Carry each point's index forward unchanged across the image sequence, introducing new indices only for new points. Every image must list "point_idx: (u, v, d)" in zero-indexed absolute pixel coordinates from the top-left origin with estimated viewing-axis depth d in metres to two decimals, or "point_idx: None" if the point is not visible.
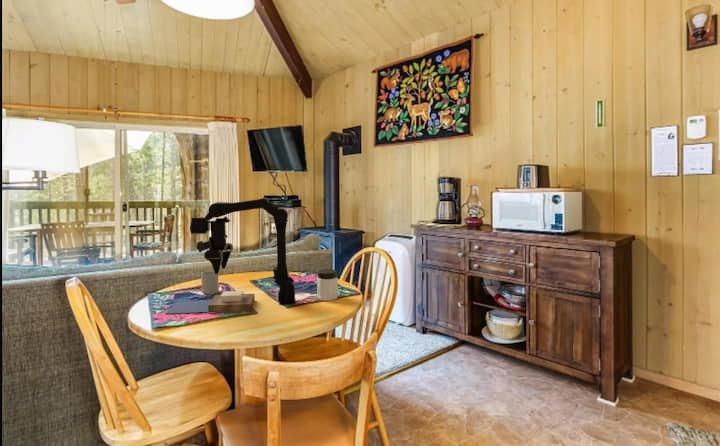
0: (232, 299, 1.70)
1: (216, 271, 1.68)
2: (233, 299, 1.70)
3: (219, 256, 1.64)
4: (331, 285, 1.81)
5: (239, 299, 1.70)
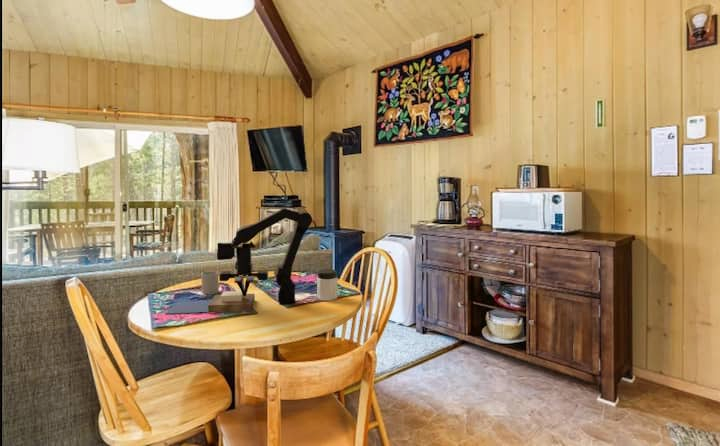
0: (232, 299, 1.70)
1: None
2: (233, 299, 1.70)
3: (220, 279, 1.68)
4: (331, 285, 1.81)
5: (239, 299, 1.70)
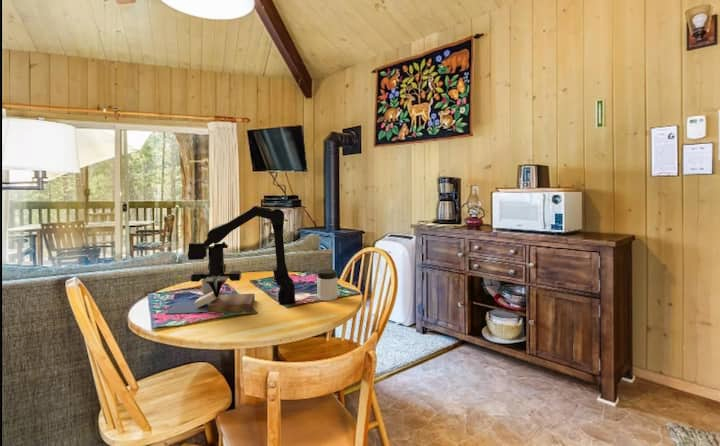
0: (206, 301, 1.69)
1: None
2: (207, 300, 1.69)
3: (191, 279, 1.67)
4: (331, 285, 1.81)
5: (212, 298, 1.69)
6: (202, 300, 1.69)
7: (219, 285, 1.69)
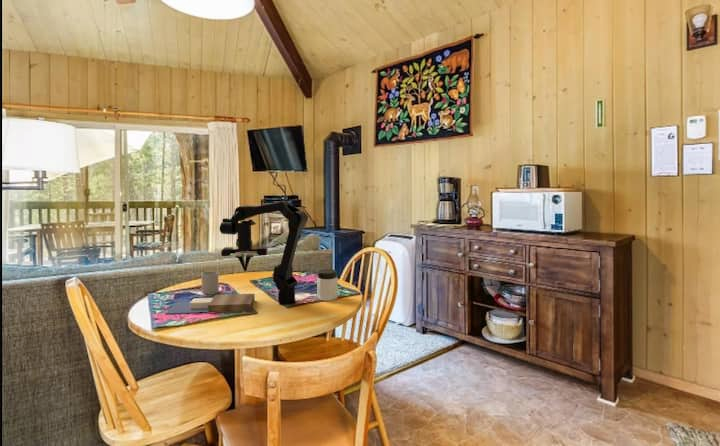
0: (201, 306, 1.69)
1: None
2: (203, 306, 1.69)
3: (221, 254, 1.78)
4: (331, 285, 1.81)
5: None
6: (198, 303, 1.69)
7: (247, 259, 1.80)
